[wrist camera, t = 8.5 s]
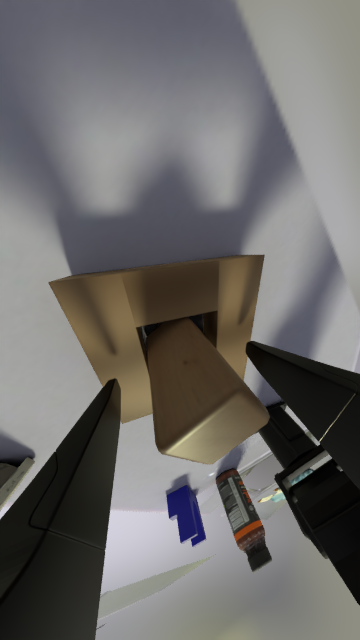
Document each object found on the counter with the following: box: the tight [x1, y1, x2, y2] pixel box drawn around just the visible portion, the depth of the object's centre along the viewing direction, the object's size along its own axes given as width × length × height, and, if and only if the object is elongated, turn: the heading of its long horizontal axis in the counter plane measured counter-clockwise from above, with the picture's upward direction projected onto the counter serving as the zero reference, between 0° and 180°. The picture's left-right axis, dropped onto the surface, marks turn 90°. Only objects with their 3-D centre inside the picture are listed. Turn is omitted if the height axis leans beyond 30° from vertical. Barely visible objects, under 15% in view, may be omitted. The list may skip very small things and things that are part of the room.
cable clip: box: [167, 485, 206, 547], centre depth 29 cm, size 12×4×6 cm, turn 14°
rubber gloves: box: [258, 470, 313, 503], centre depth 66 cm, size 27×33×6 cm
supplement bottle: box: [216, 469, 272, 573], centre depth 28 cm, size 6×6×11 cm
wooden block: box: [146, 317, 270, 464], centre depth 9 cm, size 4×4×8 cm
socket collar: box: [48, 255, 264, 424], centre depth 11 cm, size 12×12×2 cm
